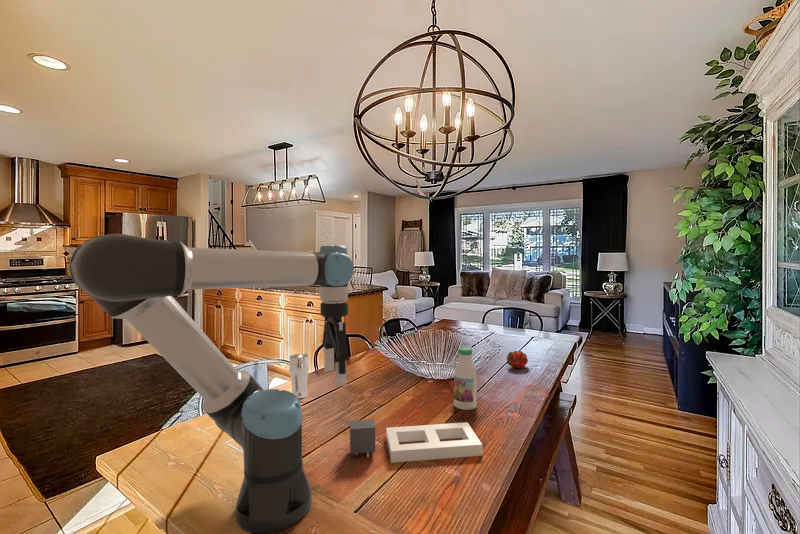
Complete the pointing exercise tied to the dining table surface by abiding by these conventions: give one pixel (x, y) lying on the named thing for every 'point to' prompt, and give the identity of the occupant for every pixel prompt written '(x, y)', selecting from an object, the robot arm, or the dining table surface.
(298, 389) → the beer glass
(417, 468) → the dining table surface
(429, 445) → the socket plate
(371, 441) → the plug
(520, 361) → the dragon fruit
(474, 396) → the milk bottle
